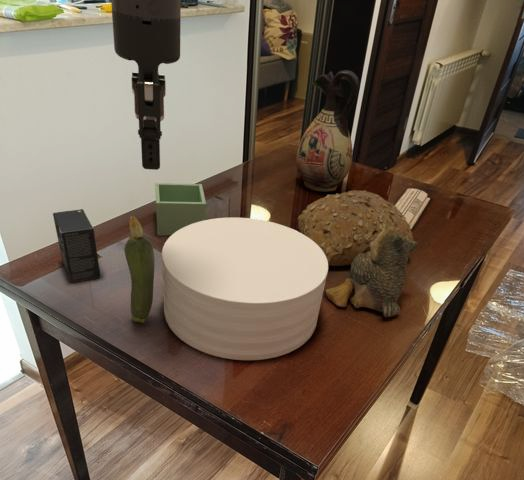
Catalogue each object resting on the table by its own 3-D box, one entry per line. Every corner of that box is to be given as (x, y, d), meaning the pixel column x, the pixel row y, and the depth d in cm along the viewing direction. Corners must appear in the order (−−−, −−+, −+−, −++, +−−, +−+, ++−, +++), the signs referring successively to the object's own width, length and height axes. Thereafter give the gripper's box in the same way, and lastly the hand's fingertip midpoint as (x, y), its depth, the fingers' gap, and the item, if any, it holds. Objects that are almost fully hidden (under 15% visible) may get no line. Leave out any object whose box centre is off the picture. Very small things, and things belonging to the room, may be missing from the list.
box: (62, 262, 95) (52, 212, 88) (91, 258, 97) (84, 208, 90) (70, 283, 90) (60, 231, 83) (101, 278, 92) (94, 227, 85)
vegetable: (143, 310, 86) (135, 203, 73) (162, 320, 84) (158, 212, 72) (126, 322, 83) (114, 213, 70) (145, 332, 81) (137, 222, 68)
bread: (370, 221, 123) (383, 175, 116) (417, 264, 109) (435, 214, 101) (283, 228, 116) (289, 179, 108) (320, 275, 101) (331, 222, 93)
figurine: (348, 271, 103) (364, 204, 94) (412, 296, 98) (437, 229, 89) (318, 300, 94) (333, 229, 84) (388, 330, 89) (412, 258, 79)
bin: (157, 235, 107) (155, 202, 102) (156, 214, 115) (155, 182, 110) (205, 235, 109) (206, 203, 104) (201, 214, 117) (201, 184, 112)
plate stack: (272, 384, 75) (281, 326, 68) (130, 319, 84) (125, 261, 76) (339, 301, 94) (352, 249, 87) (219, 255, 103) (221, 204, 96)
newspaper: (406, 192, 141) (408, 186, 140) (430, 199, 139) (432, 193, 138) (384, 221, 124) (386, 215, 123) (411, 229, 122) (413, 222, 121)
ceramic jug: (281, 184, 136) (297, 63, 117) (311, 171, 146) (329, 58, 127) (333, 204, 129) (358, 79, 110) (360, 189, 139) (388, 72, 120)
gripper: (114, -3, 58) (123, 136, 69) (107, 14, 48) (119, 175, 58) (177, 4, 60) (177, 139, 70) (183, 23, 50) (182, 178, 60)
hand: (151, 156), depth 64 cm, fingers open, 8 cm apart
